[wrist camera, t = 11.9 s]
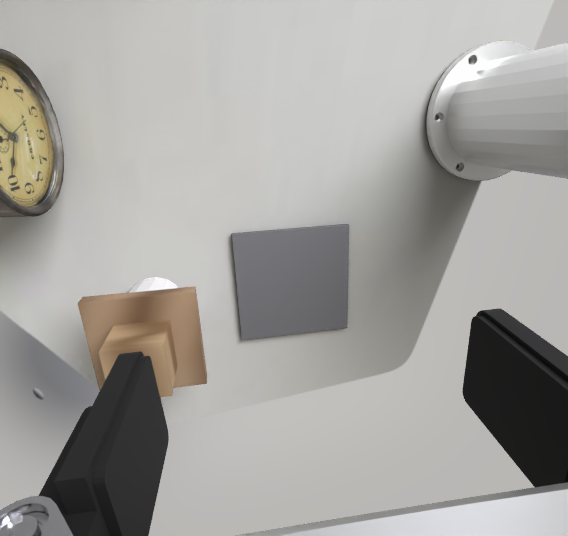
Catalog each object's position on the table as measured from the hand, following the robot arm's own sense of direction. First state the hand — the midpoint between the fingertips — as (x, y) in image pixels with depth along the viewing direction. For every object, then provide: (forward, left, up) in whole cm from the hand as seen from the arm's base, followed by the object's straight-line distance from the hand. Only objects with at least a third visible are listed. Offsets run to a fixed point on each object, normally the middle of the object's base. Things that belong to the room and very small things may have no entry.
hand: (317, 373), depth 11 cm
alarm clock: (+18, -7, -29) cm, 34 cm away
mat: (-4, +9, -28) cm, 30 cm away
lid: (+10, +10, -21) cm, 26 cm away
